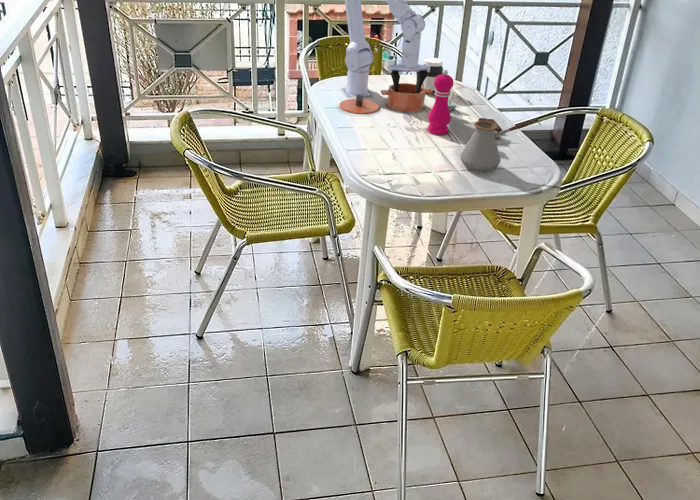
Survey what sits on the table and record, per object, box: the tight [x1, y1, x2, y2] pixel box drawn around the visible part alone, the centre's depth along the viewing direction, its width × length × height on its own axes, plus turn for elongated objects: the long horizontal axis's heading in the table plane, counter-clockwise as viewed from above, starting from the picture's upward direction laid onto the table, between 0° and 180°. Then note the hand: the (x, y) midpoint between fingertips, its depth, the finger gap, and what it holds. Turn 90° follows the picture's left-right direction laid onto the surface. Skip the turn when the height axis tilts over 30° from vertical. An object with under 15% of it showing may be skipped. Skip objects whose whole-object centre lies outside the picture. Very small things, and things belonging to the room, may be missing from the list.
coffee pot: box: [459, 118, 542, 174], centre depth 191 cm, size 21×12×15 cm, turn 95°
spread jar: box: [421, 57, 452, 95], centre depth 250 cm, size 12×11×12 cm
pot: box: [380, 82, 433, 112], centre depth 235 cm, size 13×18×6 cm
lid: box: [338, 95, 380, 115], centre depth 232 cm, size 14×14×5 cm
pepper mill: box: [427, 69, 454, 136], centre depth 213 cm, size 7×7×20 cm
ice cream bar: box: [477, 117, 503, 139], centre depth 220 cm, size 5×2×15 cm
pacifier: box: [448, 90, 458, 111], centre depth 236 cm, size 7×6×6 cm
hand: (406, 92), depth 234 cm, fingers open, 7 cm apart
